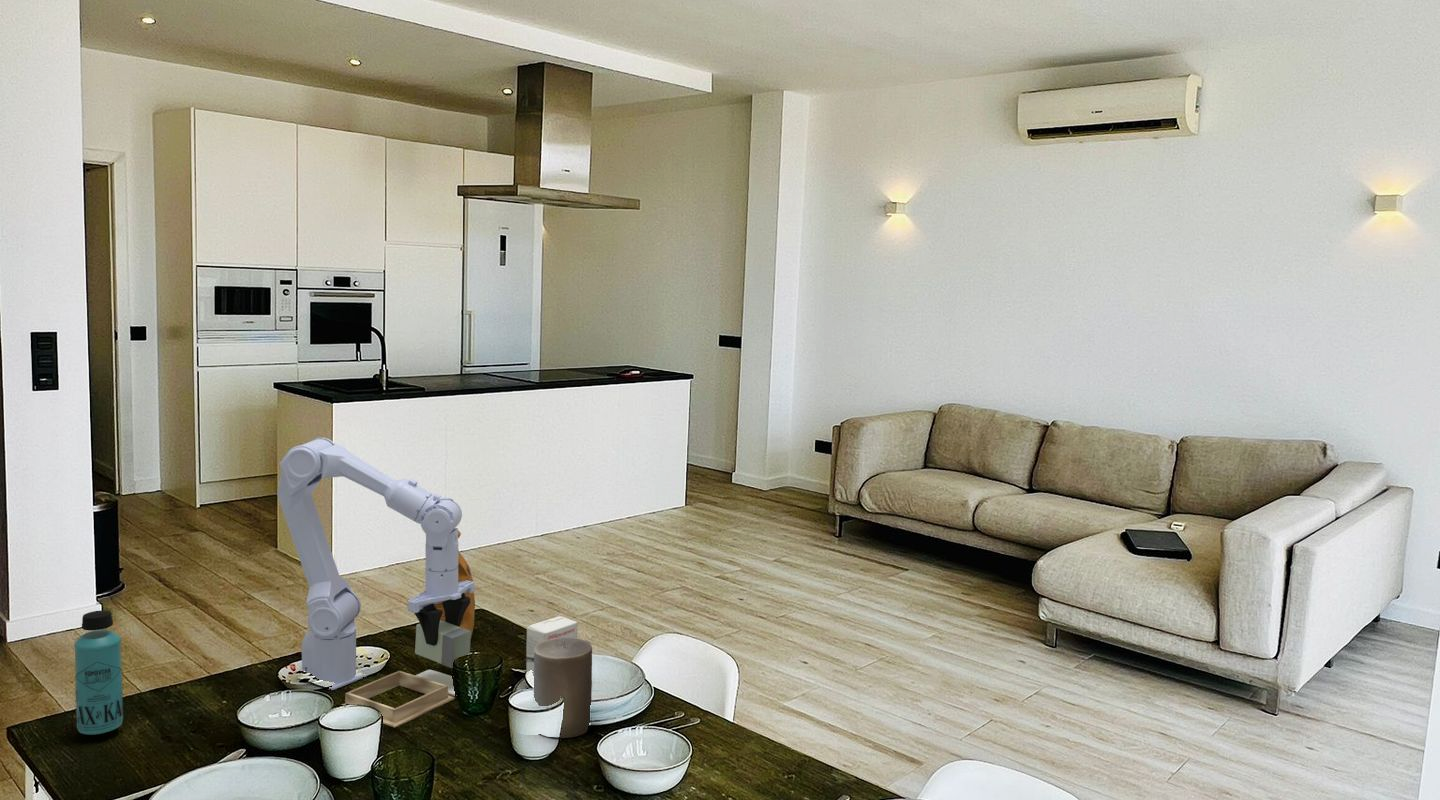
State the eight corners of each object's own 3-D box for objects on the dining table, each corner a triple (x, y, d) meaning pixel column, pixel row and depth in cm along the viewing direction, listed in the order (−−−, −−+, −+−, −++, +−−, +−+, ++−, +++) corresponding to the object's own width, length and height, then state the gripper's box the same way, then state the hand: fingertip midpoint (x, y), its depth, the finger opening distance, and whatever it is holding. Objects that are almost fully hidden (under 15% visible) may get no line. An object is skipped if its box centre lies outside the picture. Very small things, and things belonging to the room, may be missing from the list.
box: (414, 653, 182) (416, 624, 181) (433, 646, 186) (435, 617, 185) (450, 668, 178) (452, 638, 177) (469, 660, 182) (471, 630, 181)
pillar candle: (603, 727, 167) (604, 640, 166) (555, 745, 160) (556, 654, 159) (568, 709, 174) (569, 625, 172) (520, 725, 167) (521, 638, 165)
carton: (338, 707, 171) (338, 693, 171) (399, 681, 183) (399, 668, 182) (394, 727, 164) (394, 713, 164) (454, 698, 176) (454, 685, 176)
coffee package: (479, 627, 212) (480, 526, 209) (472, 649, 200) (472, 541, 197) (431, 627, 211) (431, 525, 208) (420, 649, 198) (420, 541, 196)
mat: (406, 680, 183) (406, 679, 183) (429, 670, 188) (429, 669, 188) (454, 696, 177) (454, 694, 177) (477, 685, 182) (477, 683, 182)
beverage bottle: (71, 734, 158) (65, 612, 156) (118, 721, 163) (113, 603, 161) (83, 748, 154) (78, 623, 151) (131, 735, 159) (126, 613, 156)
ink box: (543, 696, 179) (544, 633, 177) (524, 688, 181) (525, 626, 180) (578, 682, 185) (579, 620, 184) (559, 675, 188) (560, 614, 187)
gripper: (427, 581, 172) (427, 657, 173) (486, 561, 184) (486, 632, 186) (398, 574, 175) (399, 648, 177) (458, 555, 188) (458, 625, 189)
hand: (441, 640), depth 182 cm, fingers closed on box, 4 cm apart
